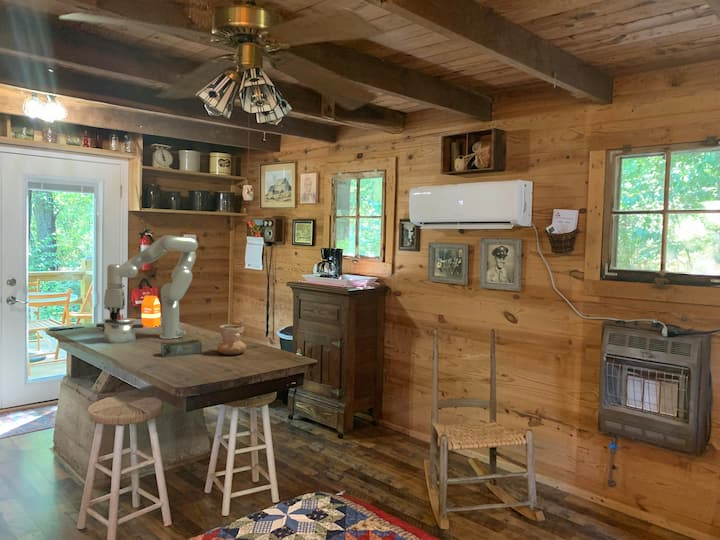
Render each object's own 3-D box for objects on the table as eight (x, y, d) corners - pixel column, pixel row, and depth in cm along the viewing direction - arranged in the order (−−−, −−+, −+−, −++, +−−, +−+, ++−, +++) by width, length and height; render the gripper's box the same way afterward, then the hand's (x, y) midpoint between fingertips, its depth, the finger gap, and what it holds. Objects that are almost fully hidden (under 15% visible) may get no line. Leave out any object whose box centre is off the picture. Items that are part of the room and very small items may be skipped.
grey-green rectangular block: (160, 354, 280) (160, 341, 279) (198, 351, 289) (198, 338, 289) (163, 357, 273) (163, 344, 273) (202, 354, 283) (202, 341, 282)
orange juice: (153, 327, 355) (153, 296, 353) (141, 326, 357) (141, 296, 355) (160, 325, 362) (160, 295, 361) (148, 324, 364) (148, 294, 363)
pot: (149, 338, 320) (148, 321, 320) (136, 343, 303) (136, 325, 303) (105, 337, 321) (105, 320, 320) (90, 343, 304) (90, 325, 303)
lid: (141, 320, 319) (141, 314, 319) (126, 323, 300) (126, 316, 300) (112, 319, 320) (112, 313, 320) (95, 322, 300) (95, 315, 300)
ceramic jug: (251, 355, 281) (252, 327, 280) (224, 358, 272) (224, 329, 272) (237, 349, 295) (237, 322, 295) (211, 352, 287) (211, 324, 286)
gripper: (130, 286, 308) (130, 319, 309) (104, 285, 308) (104, 318, 309) (124, 287, 300) (124, 321, 301) (97, 286, 301) (97, 320, 302)
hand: (114, 319), depth 305 cm, fingers closed
